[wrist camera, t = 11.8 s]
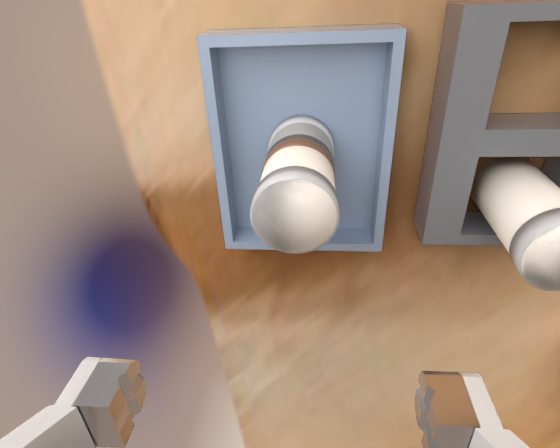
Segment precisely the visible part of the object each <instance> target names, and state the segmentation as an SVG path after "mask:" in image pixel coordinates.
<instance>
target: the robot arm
mask: <svg viewBox="0 0 560 448" xmlns="http://www.w3.org/2000/svg"><path fill="white" fill-rule="evenodd" d="M140 369H141V367H140V364H139V362H138V360H126V359H113V358H95V357H87V358H86V359H84V360H83V361H82V362H81V363H80V365H79V367H78V368H77V370H76V371H75V373H74V374H73V376H72V378H71V379H70V381H69V382H68V384H67V385H66V387H65V389H64V390H63V392H62V393H61V395H60V396H59V398H58V400H57V401H56V403H55V404H54V405H49V406H47V407H46V408H45V409H43V410H41V411H40V412H39V413H37V414H36V415H34V416H33V417H32V418H30V419H29V420H27V421H26V422H25V423H23V424H22V425H20V426H19V427H17V428H16V429H14V430H13V431H12V432H10V433H9V434H7V435H6V436H4V437H3V438H2V439H0V448H96V447H119V448H125V446H126V444H127V442H128V440H129V437H130V435H131V433H132V430H133V428H134V426H135V425H134V422H133V417H134V416H135V415H136V414H138V413H139V412H140V411H141V409H142V406H143V404H144V400H145V395H146V383H145V379H144V378H143V377H142V376H141V375H140V374H138V373H139V371H140ZM419 384H420V388H419V389H418V390H416V396H415V411H416V418H417V423H418V426H419V427H420V428H421V429H422V431H423V432H424V433H423V438H422V445H423V448H530V447H528V446H527V445H526V444H525V443H524V442H523V441H522V440H521V439H520V438H518V437H517V436H516V435H515V434H514V433H513V432H512V431H511V430H507V429H504V428H503V426H502V424H501V421H500V419H499V417H498V414H497V412H496V410H495V407H494V405H493V402H492V400H491V398H490V395H489V393H488V391H487V388H486V386H485V383H484V381H483V379H482V376H481V375H480V374H479V373H461V372H459V373H458V372H440V371H421V373H420V375H419Z"/></svg>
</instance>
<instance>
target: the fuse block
mask: <svg viewBox="0 0 560 448" xmlns="http://www.w3.org/2000/svg"><path fill="white" fill-rule="evenodd" d="M554 20H560V0H472V1H448V4H447V11H446V17H445V24H444V30H443V36H442V43H441V49H440V55H439V62H438V68H437V74H436V81H435V87H434V94H433V100H432V106H431V113H430V119H429V125H428V132H427V138H426V144H425V151H424V157H423V163H422V170H421V176H420V183H419V189H418V195H417V202H416V208H415V214H414V224H415V226H416V229H417V232H418V234H419V237H420V240H421V243H422V244H425V245H490V246H504V247H505V248H506V250H507V251H508V253H509V254H510V258H511V260H512V262H513V264H514V265H515V267H516V268H517V270H518V271H519V273H520V274H521V276H522V278H523V279H524V280H525V281H526V282H527V283H528V284H530V285H531V286H533V287H536V288H538V289H542V290H548V291H560V113H502V114H489V111H490V107H491V103H492V98H493V94H494V90H495V86H496V81H497V77H498V73H499V69H500V64H501V60H502V56H503V52H504V47H505V43H506V39H507V34H508V30H509V26H510V22H526V21H554ZM479 157H480V158H479ZM526 157H546V159H545V162H544V166H543V169H542V172H541V171H540V170H539V169H538V168H537V167H536V166H535V165H534V164H532V163H531V162H530V161H529V160H528V159H527V158H526ZM478 158H479V159H478ZM469 196H471V197H472V199H473V200H474V202H475V203H476V205H477V206H478V208H479V209H480V211H481V212H466V209H467V205H468V201H469Z"/></svg>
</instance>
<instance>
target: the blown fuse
mask: <svg viewBox="0 0 560 448" xmlns="http://www.w3.org/2000/svg"><path fill="white" fill-rule="evenodd" d="M250 220H251V224H252V227H253V229H254V231H255V233H256V234H257V236H258V237H259V238H260V239H261V240H262V241H263V242H264V243H265V244H267V245H268V246H270V247H272V248H273V249H276V250H278V251H281V252H285V253H292V254H301V253H307V252H311V251H314V250H316V249H318V248H320V247H322V246H323V245H325V244H326V243H327V242H328V241H329V240H330V239H331V238H332V237H333V235H334V234H335V232H336V230H337V228H338V224H339V203H338V196H337V193H336V190H335V164H334V142H333V137H332V134H331V132H330V130H329V128H328V127H327V126H326V125H325V124H324V123H323V122H322V121H321V120H319V119H317V118H315V117H313V116H309V115H294V116H291V117H288V118H286V119H284V120H283V121H281V122H280V123H279V124H278V125H277V126H276V128H275V129H274V131H273V133H272V135H271V138H270V142H269V146H268V153H267V156H266V159H265V162H264V166H263V169H262V174H261V180H260V183H259V185H258V186H257V188H256V191H255V194H254V197H253V201H252V204H251V208H250Z"/></svg>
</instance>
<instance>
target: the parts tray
mask: <svg viewBox="0 0 560 448" xmlns="http://www.w3.org/2000/svg"><path fill="white" fill-rule="evenodd" d="M406 32H407V29H406V28H405V27H403V26H402V25H400V24H373V25H344V26H316V27H288V28H260V29H231V30H207V31H205V32H204V33H202V34H200V35H198V36H197V42H198V49H199V57H200V64H201V71H202V79H203V86H204V93H205V100H206V108H207V115H208V122H209V130H210V137H211V144H212V152H213V159H214V166H215V173H216V181H217V188H218V195H219V203H220V210H221V217H222V225H223V232H224V239H225V246H226V249H260V250H276V249H273V248H272V247H270V246H268V245H267V244H265V243H264V242H263V241H262V240H261V239H260V238H259V237H258V236H257V234H256V233H255V231H254V229H253V227H252V224H251V220H250V208H251V204H252V201H253V197H254V194H255V191H256V188H257V186H258V185H259V183H260V180H261V174H262V169H263V166H264V162H265V159H266V156H267V153H268V146H269V142H270V138H271V135H272V133H273V131H274V129H275V128H276V126H277V125H278V124H279V123H280V122H281V121H283V120H284V119H286V118H288V117H291V116H294V115H309V116H313V117H315V118H317V119H319V120H321V121H322V122H323V123H324V124H325V125H326V126H327V127H328V128H329V130H330V132H331V134H332V137H333V142H334V164H335V190H336V193H337V196H338V203H339V224H338V228H337V230H336V232H335V234H334V235H333V237H332V238H331V239H330V240H329V241H328V242H327V243H326V244H325V245H323V246H322V247H320V248H318V249H316V250H317V251H375V252H382V243H383V234H384V225H385V217H386V208H387V199H388V190H389V181H390V173H391V164H392V155H393V146H394V137H395V129H396V120H397V111H398V102H399V93H400V85H401V76H402V67H403V58H404V49H405V41H406Z"/></svg>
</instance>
